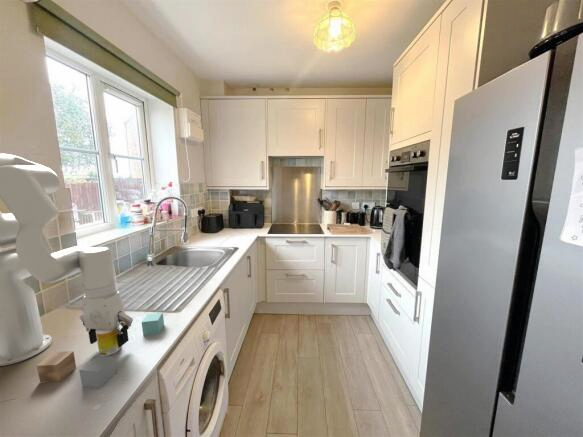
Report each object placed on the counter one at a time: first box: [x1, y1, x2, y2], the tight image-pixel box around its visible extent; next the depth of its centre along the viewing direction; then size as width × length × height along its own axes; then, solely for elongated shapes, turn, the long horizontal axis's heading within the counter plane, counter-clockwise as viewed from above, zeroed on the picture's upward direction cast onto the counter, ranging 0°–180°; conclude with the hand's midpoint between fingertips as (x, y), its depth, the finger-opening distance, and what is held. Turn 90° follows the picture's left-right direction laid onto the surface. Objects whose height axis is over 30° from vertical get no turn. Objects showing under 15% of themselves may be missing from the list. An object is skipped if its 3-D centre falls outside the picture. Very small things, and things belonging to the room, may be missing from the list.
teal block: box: [141, 312, 165, 337], centre depth 83 cm, size 5×5×5 cm
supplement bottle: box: [96, 322, 122, 357], centre depth 73 cm, size 6×6×10 cm
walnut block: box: [36, 350, 77, 383], centre depth 65 cm, size 5×5×5 cm
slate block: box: [79, 354, 117, 390], centre depth 62 cm, size 5×5×5 cm
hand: (109, 342), depth 73 cm, fingers open, 9 cm apart
